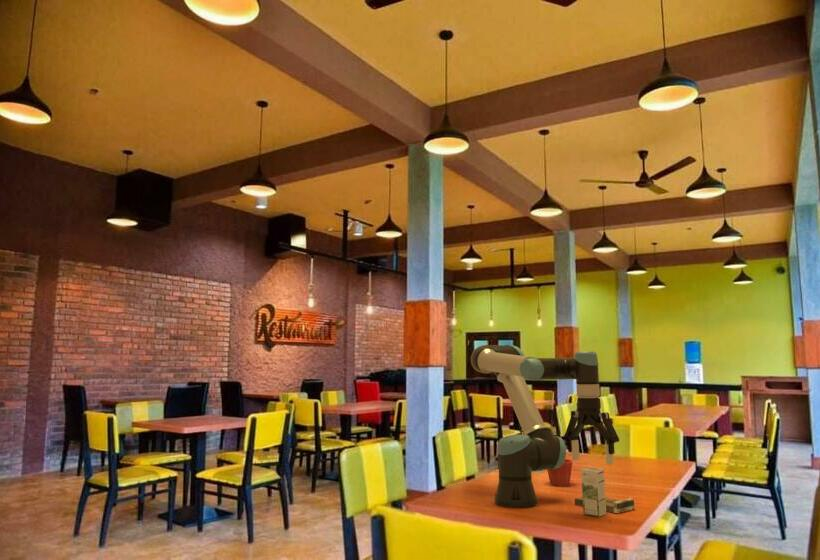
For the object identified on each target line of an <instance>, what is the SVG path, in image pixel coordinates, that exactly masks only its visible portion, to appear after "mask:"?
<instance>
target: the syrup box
mask: <svg viewBox="0 0 820 560" xmlns="http://www.w3.org/2000/svg"><path fill="white" fill-rule="evenodd" d="M580 473H581V474H580V475H581V477H580V478H581V493H582V497H583V506H582V507H583V508H582V509H583V515H587V516H592V517H597V516H598V517H597V518H601V517H603V516H605V515H607V512H606V500H605V497H606V489H605V488H606V487H605V470H604V469H603V468H596V467H584V468H581V469H580ZM602 515H603V516H602ZM600 516H601V517H600Z"/></svg>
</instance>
